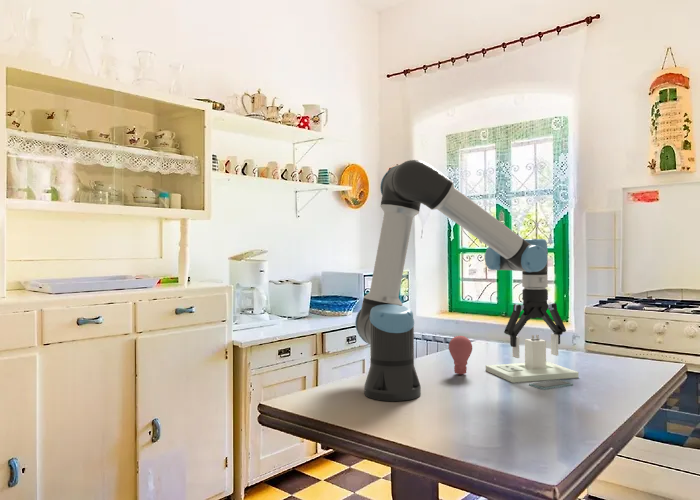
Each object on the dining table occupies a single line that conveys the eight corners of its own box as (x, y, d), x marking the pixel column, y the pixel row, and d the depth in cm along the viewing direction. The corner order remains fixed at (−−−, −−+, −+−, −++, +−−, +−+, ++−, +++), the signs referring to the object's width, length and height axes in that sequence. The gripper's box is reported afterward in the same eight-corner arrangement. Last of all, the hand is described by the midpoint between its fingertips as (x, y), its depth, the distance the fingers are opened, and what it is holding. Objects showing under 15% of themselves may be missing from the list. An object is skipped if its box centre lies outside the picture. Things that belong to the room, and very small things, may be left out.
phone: (543, 391, 151) (543, 387, 151) (529, 387, 156) (529, 383, 156) (573, 387, 155) (573, 383, 155) (557, 382, 160) (557, 378, 160)
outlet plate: (512, 382, 159) (512, 375, 159) (485, 370, 174) (485, 364, 174) (578, 377, 164) (578, 370, 164) (547, 366, 180) (546, 360, 180)
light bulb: (466, 378, 164) (466, 338, 164) (444, 375, 168) (444, 336, 168) (476, 374, 170) (476, 335, 170) (455, 371, 174) (455, 333, 174)
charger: (533, 374, 169) (532, 336, 169) (525, 370, 173) (524, 334, 173) (546, 373, 170) (545, 335, 170) (537, 370, 174) (537, 333, 174)
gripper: (505, 290, 165) (505, 360, 165) (577, 287, 171) (578, 356, 171) (492, 288, 172) (493, 356, 172) (562, 286, 178) (563, 351, 178)
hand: (535, 356), depth 172 cm, fingers open, 13 cm apart
